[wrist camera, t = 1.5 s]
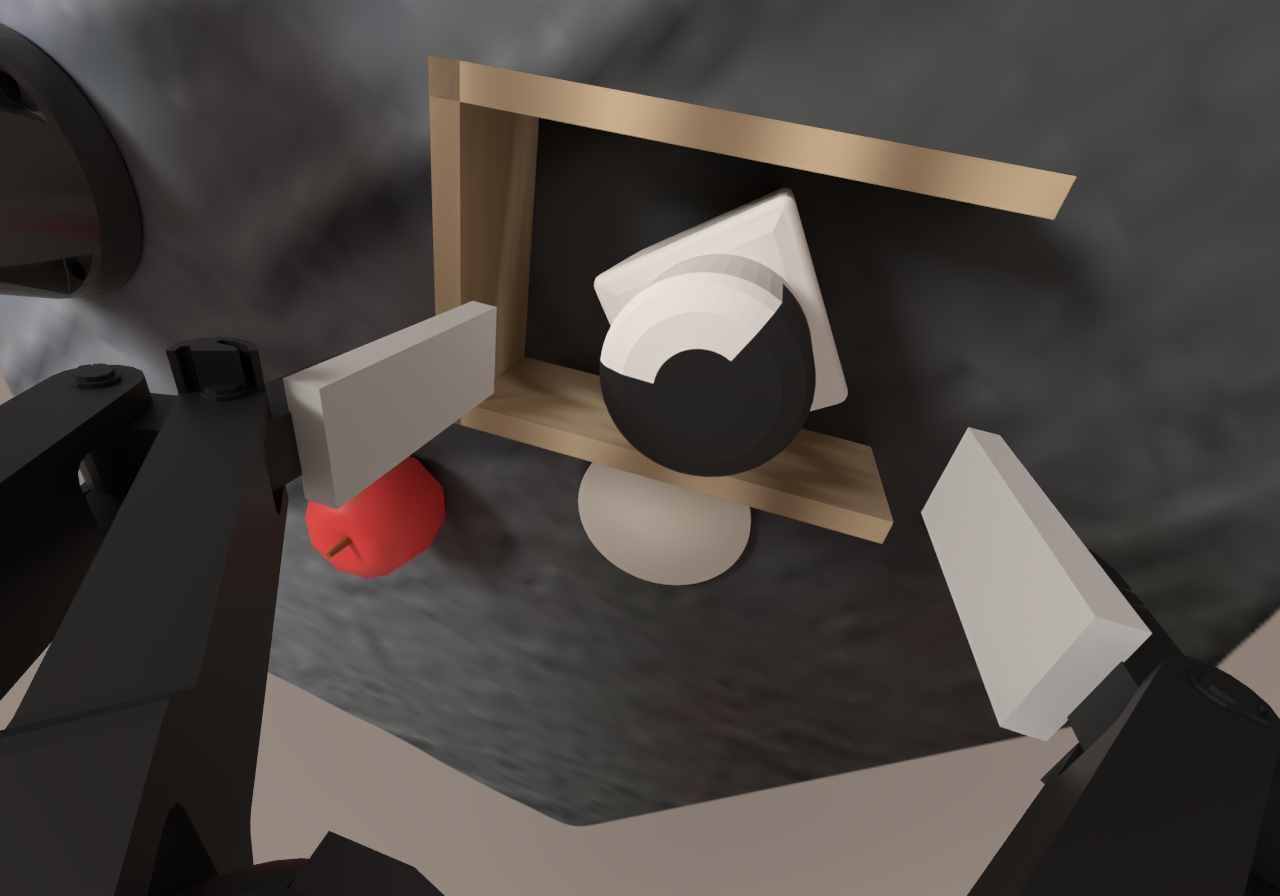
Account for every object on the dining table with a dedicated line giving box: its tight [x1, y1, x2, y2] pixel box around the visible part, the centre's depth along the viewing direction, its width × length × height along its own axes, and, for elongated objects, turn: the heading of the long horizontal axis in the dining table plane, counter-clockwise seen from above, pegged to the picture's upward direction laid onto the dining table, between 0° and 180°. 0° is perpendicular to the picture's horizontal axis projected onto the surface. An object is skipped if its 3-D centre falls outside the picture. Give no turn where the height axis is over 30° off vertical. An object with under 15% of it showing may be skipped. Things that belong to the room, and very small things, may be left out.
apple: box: [305, 456, 446, 578], centre depth 34 cm, size 8×8×8 cm
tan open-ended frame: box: [428, 55, 1076, 544], centre depth 24 cm, size 21×14×7 cm
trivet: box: [578, 462, 751, 585], centre depth 33 cm, size 11×11×1 cm
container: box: [594, 187, 848, 477], centre depth 21 cm, size 8×8×13 cm
